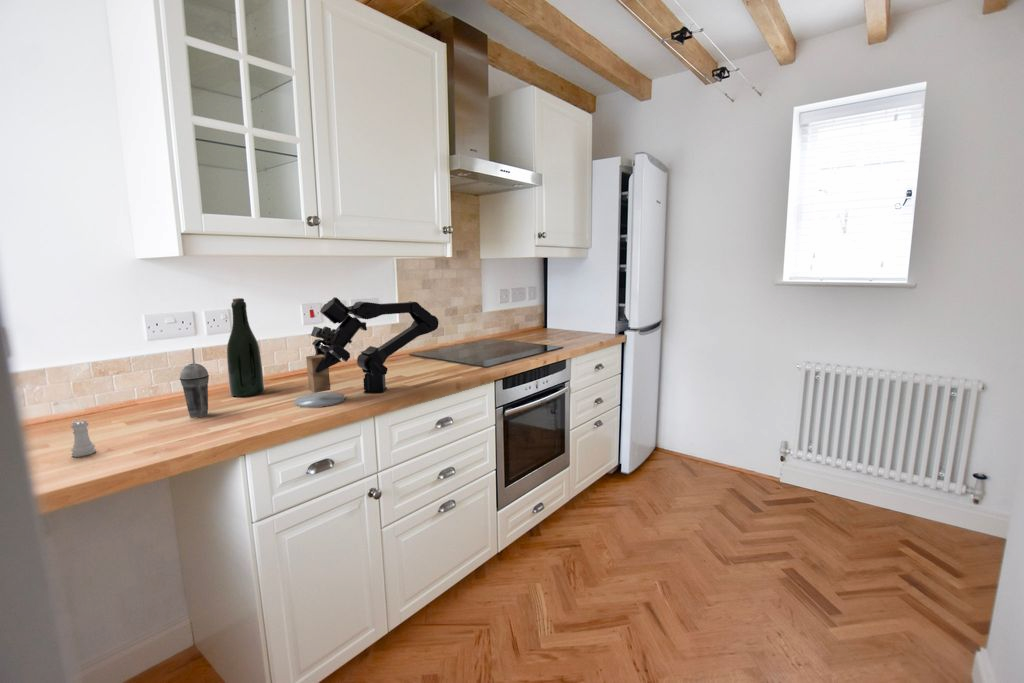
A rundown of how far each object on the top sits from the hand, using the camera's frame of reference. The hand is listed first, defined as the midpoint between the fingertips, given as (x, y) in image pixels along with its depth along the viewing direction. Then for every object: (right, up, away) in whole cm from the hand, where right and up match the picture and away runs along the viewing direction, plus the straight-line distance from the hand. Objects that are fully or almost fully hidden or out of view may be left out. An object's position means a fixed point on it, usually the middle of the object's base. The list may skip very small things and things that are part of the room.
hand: (313, 370), depth 156 cm
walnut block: (+1, -6, +2) cm, 7 cm away
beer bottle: (-28, -9, +14) cm, 33 cm away
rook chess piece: (-38, -17, -40) cm, 58 cm away
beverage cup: (-29, -13, -11) cm, 34 cm away
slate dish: (+1, -10, +2) cm, 10 cm away
